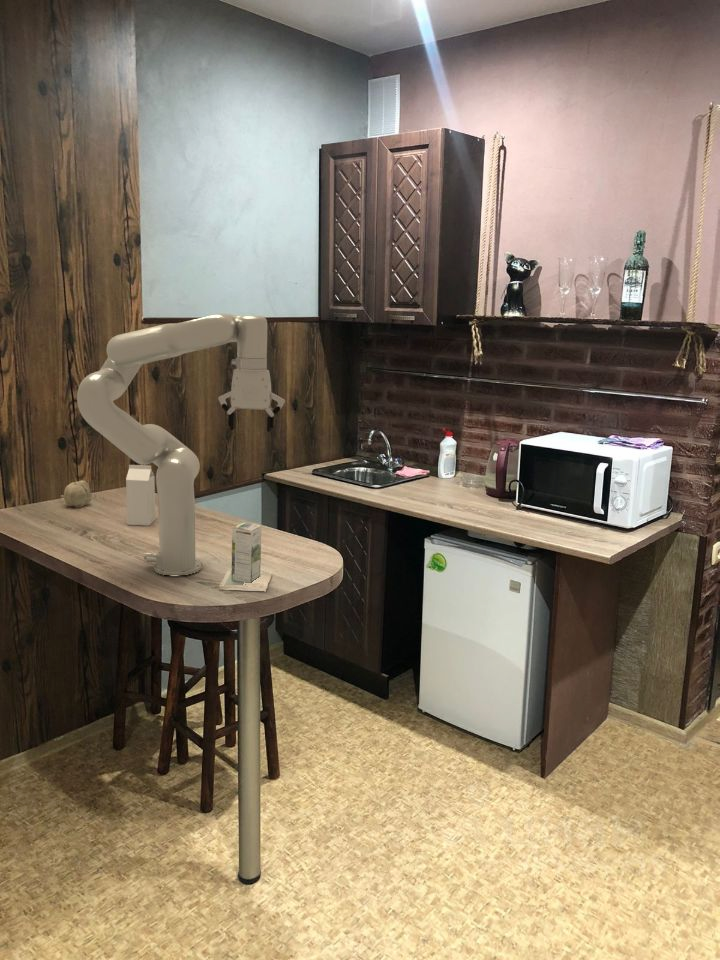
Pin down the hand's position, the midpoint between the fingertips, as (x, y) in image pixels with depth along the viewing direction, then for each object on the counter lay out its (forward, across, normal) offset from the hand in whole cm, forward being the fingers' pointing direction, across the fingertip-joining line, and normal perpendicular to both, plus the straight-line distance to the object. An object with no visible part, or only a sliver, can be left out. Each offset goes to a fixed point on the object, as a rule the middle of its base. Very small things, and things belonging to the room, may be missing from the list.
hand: (251, 430), depth 208 cm
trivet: (+39, +1, -9) cm, 40 cm away
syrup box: (+38, +1, -9) cm, 39 cm away
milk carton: (+40, -43, +40) cm, 70 cm away
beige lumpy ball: (+40, -70, +55) cm, 98 cm away
